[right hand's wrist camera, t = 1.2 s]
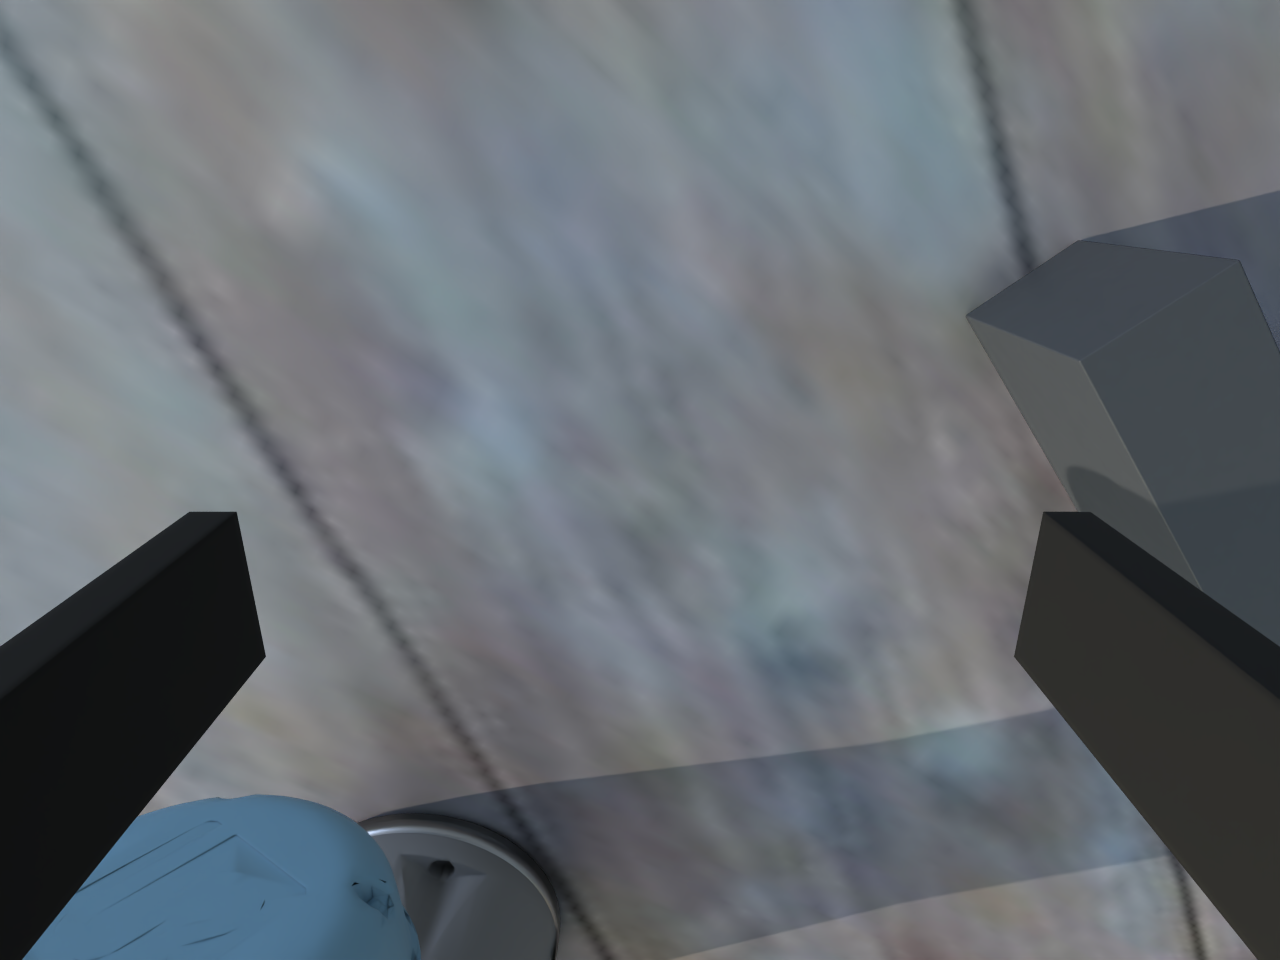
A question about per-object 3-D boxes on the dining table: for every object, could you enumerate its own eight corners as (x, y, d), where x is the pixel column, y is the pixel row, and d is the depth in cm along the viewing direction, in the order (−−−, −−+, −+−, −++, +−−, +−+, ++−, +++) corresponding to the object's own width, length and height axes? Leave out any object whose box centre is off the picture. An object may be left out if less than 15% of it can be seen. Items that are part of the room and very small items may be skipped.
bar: (964, 315, 32) (1078, 360, 24) (1078, 239, 31) (1240, 259, 22) (1180, 690, 39) (1329, 829, 30) (1280, 639, 38) (1463, 768, 29)
